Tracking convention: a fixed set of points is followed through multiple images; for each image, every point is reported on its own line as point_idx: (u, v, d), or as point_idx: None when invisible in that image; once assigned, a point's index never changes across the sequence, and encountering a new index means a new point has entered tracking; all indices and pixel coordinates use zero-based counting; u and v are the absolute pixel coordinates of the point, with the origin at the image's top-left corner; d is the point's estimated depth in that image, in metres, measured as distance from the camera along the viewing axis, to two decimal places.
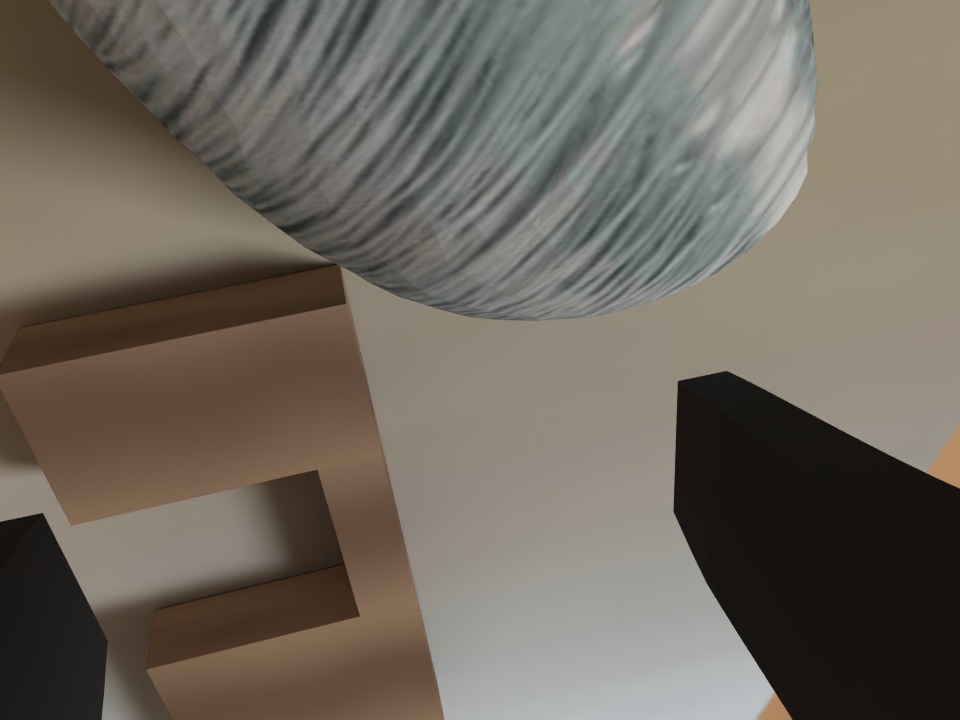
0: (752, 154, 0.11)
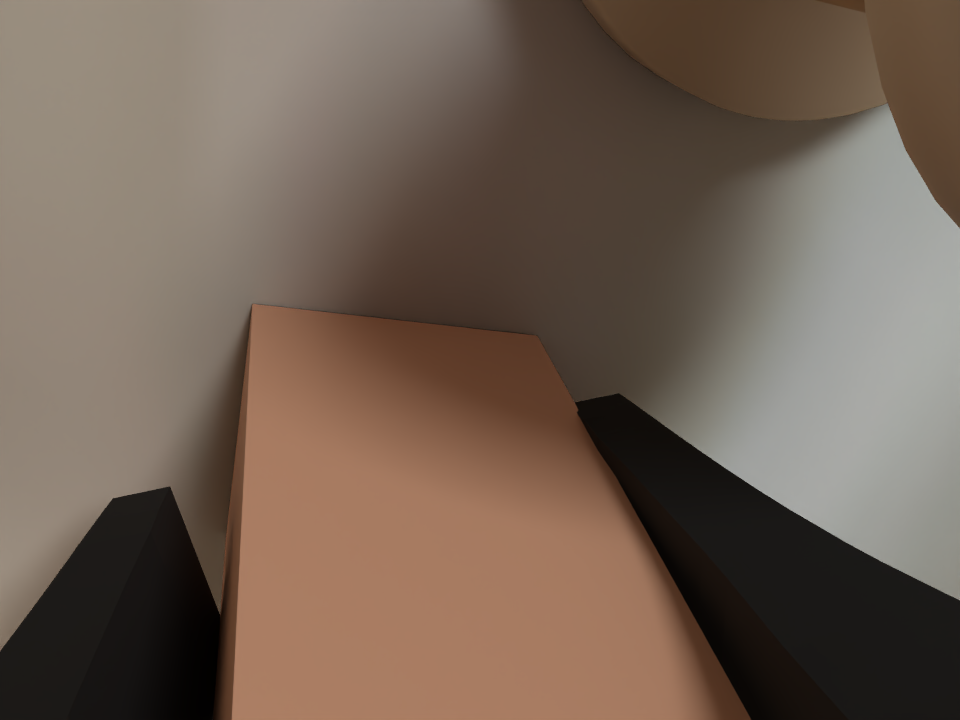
0: None
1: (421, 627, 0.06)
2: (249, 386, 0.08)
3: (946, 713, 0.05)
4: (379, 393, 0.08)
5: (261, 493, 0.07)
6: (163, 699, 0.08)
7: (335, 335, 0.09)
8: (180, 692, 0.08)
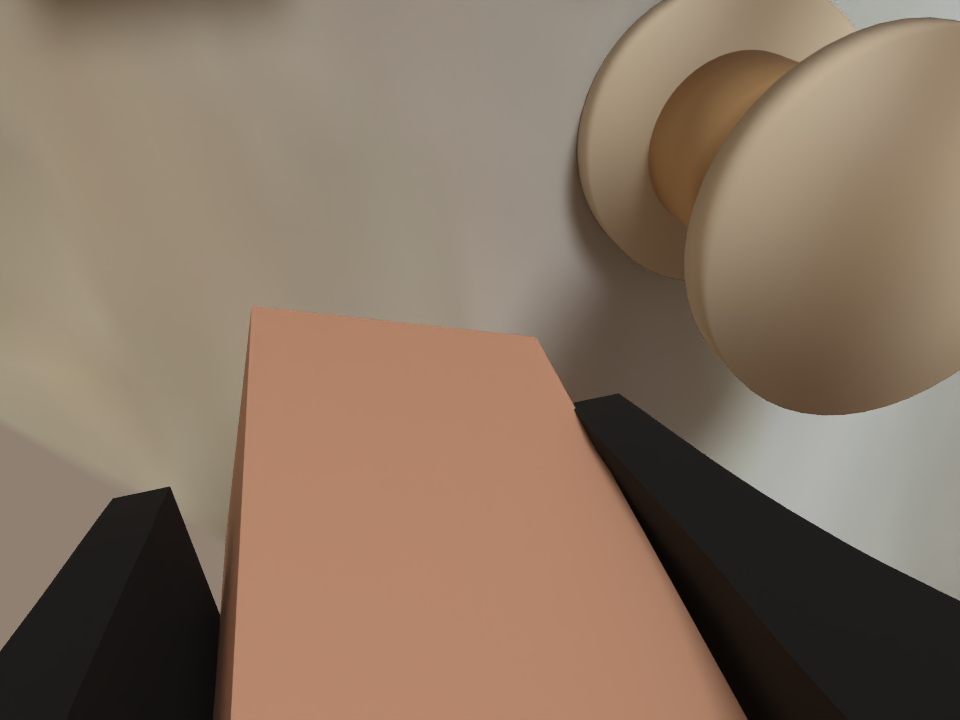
0: None
1: (420, 630, 0.06)
2: (248, 389, 0.08)
3: (946, 713, 0.05)
4: (378, 395, 0.08)
5: (260, 496, 0.07)
6: (163, 699, 0.08)
7: (334, 337, 0.09)
8: (180, 692, 0.08)
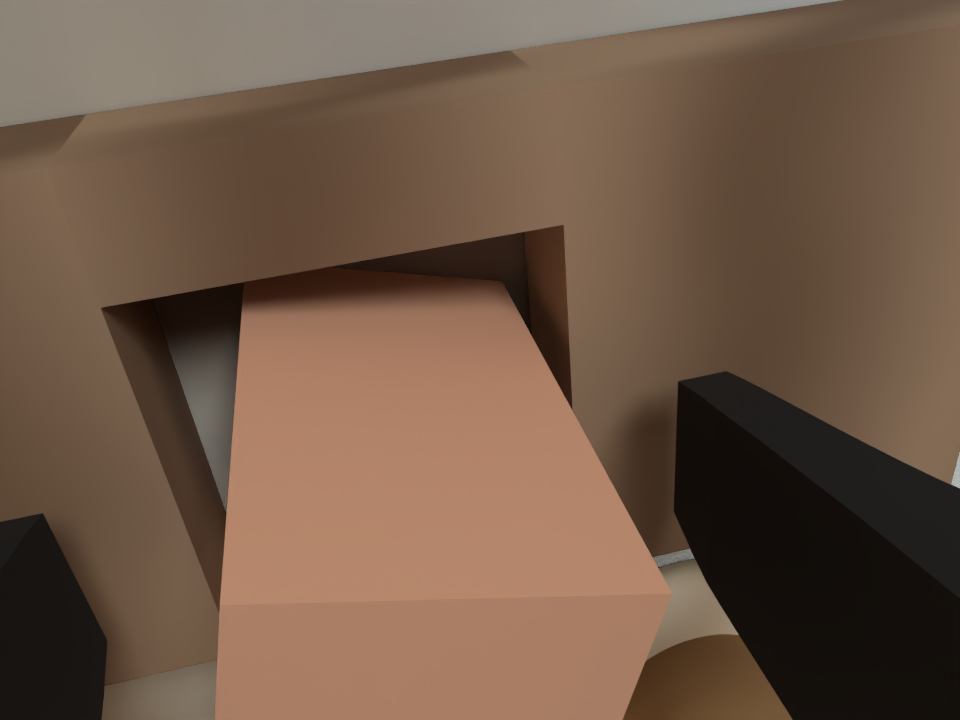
0: None
1: (379, 495, 0.07)
2: (241, 323, 0.09)
3: None
4: (355, 327, 0.10)
5: (250, 402, 0.08)
6: None
7: (318, 283, 0.11)
8: None
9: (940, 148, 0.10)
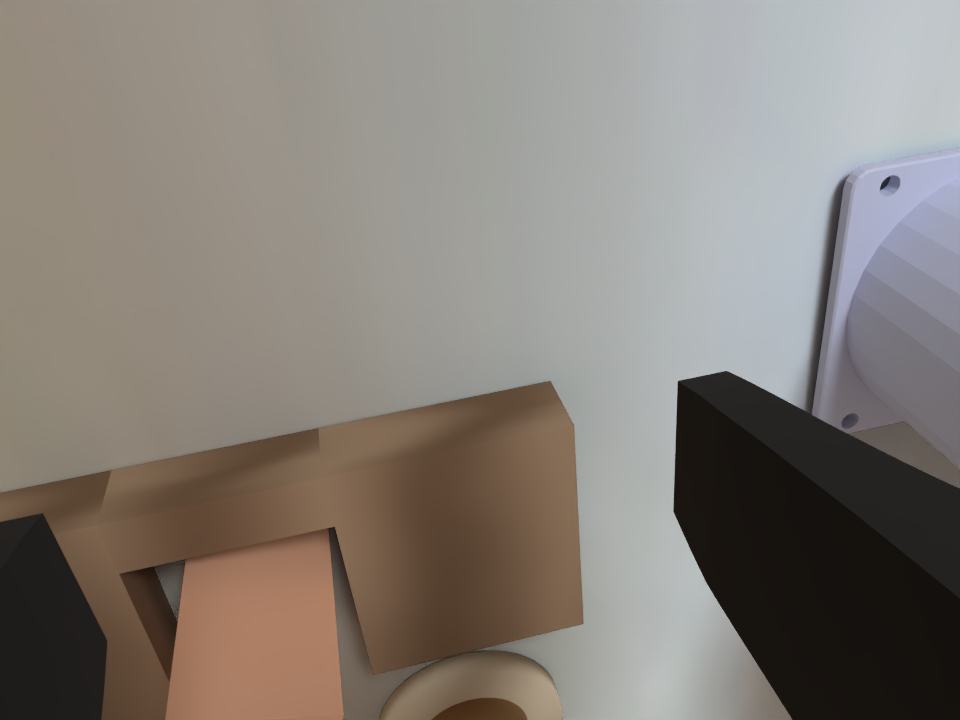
0: None
1: (233, 672, 0.18)
2: (184, 571, 0.20)
3: None
4: (240, 568, 0.20)
5: (184, 623, 0.19)
6: None
7: None
8: None
9: (521, 481, 0.20)
